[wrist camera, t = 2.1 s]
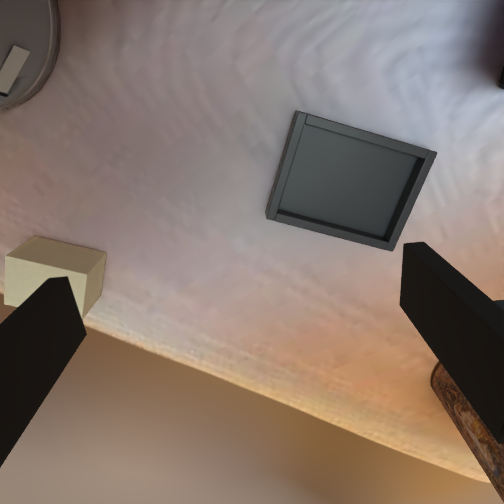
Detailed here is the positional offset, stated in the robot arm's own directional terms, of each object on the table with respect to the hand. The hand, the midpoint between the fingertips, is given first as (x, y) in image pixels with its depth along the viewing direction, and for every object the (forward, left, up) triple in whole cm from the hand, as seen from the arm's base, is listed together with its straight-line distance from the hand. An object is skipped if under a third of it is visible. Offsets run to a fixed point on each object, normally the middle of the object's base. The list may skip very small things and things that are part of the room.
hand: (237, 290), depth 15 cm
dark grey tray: (+9, +2, -22) cm, 24 cm away
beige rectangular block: (-15, -13, -22) cm, 30 cm away
